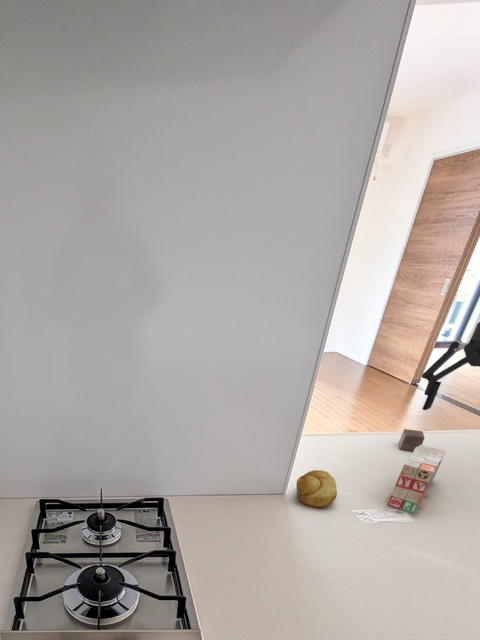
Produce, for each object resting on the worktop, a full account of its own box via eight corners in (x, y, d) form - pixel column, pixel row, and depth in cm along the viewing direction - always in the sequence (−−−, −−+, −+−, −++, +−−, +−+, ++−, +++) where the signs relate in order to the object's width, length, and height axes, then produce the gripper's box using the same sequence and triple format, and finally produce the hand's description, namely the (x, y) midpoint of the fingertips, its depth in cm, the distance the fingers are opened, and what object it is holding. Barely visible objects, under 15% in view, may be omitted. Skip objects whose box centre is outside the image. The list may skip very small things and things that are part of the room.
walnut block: (416, 445, 139) (422, 431, 136) (418, 452, 135) (424, 437, 132) (398, 443, 141) (404, 428, 138) (399, 449, 137) (405, 435, 134)
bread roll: (301, 482, 123) (308, 456, 118) (338, 491, 118) (347, 465, 114) (289, 503, 114) (296, 477, 110) (329, 514, 110) (338, 487, 105)
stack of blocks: (407, 473, 125) (424, 434, 118) (433, 480, 121) (452, 440, 114) (386, 505, 112) (404, 463, 105) (414, 514, 108) (434, 471, 101)
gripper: (428, 316, 100) (395, 405, 112) (571, 335, 82) (514, 438, 94) (443, 312, 103) (410, 399, 115) (584, 328, 86) (527, 429, 98)
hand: (457, 416), depth 105 cm, fingers open, 13 cm apart
